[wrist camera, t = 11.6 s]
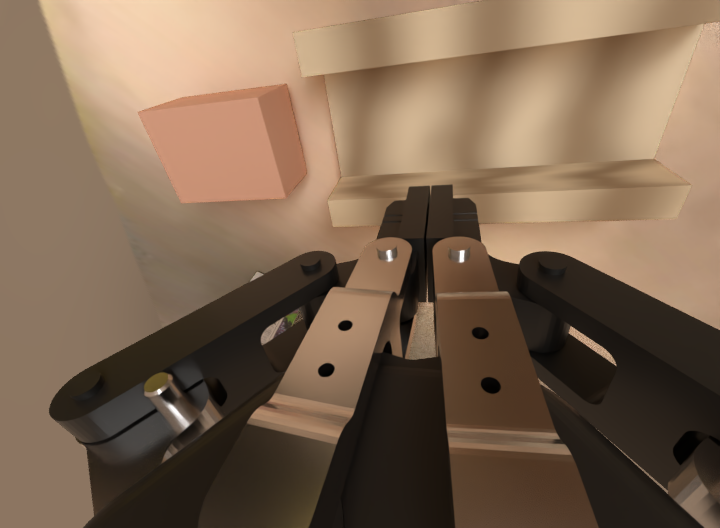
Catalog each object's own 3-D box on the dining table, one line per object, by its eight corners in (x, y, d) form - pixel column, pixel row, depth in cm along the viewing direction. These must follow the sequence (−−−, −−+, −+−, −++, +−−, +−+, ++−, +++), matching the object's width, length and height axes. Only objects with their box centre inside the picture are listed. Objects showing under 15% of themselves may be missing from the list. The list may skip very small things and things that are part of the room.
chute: (714, -38, 16) (802, -54, 12) (635, 183, 23) (676, 219, 19) (320, 28, 21) (292, 32, 17) (348, 195, 27) (332, 226, 23)
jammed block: (286, 83, 22) (257, 97, 18) (307, 172, 25) (286, 198, 22) (181, 97, 24) (137, 112, 20) (214, 178, 27) (181, 203, 24)
